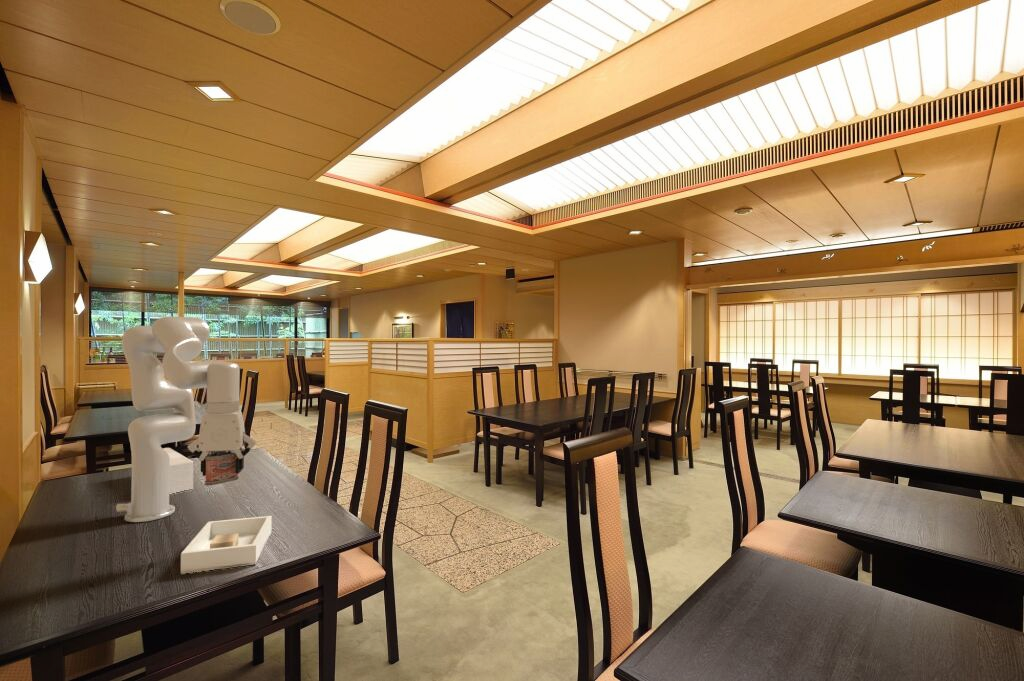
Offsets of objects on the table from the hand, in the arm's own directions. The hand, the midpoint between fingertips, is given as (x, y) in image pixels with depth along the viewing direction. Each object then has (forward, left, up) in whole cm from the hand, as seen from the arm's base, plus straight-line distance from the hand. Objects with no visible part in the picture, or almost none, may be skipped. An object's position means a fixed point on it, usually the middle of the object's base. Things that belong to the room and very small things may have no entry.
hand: (222, 472), depth 124 cm
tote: (+3, -4, -20) cm, 21 cm away
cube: (+3, -9, -19) cm, 22 cm away
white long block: (-37, +66, -21) cm, 78 cm away
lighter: (0, 0, -3) cm, 3 cm away
